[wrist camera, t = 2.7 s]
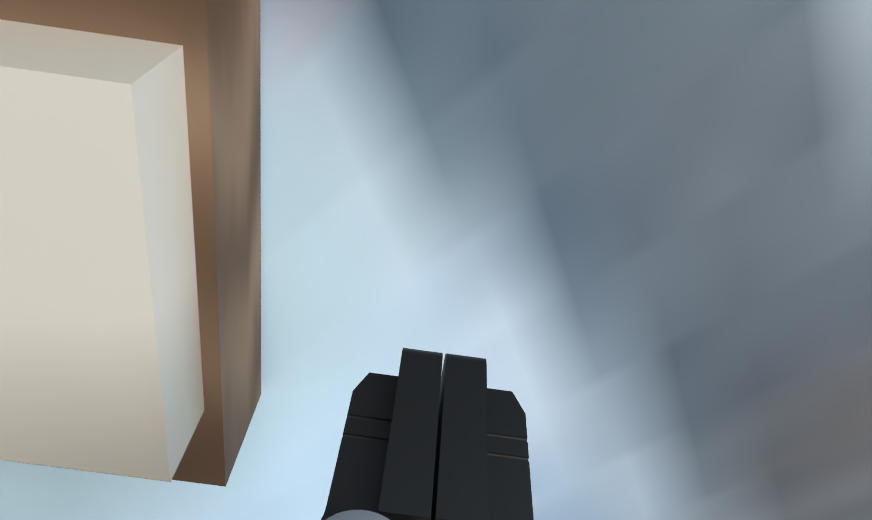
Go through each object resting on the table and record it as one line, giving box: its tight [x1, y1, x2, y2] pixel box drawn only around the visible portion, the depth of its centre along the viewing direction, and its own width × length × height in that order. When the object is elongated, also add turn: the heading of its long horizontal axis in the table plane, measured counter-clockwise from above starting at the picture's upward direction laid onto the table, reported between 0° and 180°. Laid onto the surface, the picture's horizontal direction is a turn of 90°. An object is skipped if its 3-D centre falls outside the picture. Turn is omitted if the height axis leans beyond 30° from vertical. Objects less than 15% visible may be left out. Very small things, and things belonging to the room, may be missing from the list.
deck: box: [0, 0, 261, 486], centre depth 19 cm, size 16×12×4 cm
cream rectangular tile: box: [0, 19, 204, 482], centre depth 16 cm, size 10×7×2 cm
